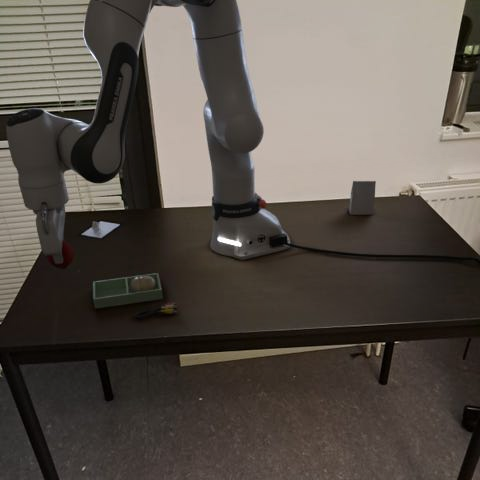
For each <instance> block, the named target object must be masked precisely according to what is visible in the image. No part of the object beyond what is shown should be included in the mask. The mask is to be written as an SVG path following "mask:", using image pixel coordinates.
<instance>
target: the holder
mask: <svg viewBox="0 0 480 480" xmlns="http://www.w3.org/2000/svg"><path fill="white" fill-rule="evenodd" d="M139 276H151V277H152V278H154V280H155V282H156V287H155V289H154V290H149V291H142V292H133V291H132V289H131V281H132V280H133V279H134V278H136V277H139ZM156 300H157V301H159V300H164V295H163V288H162V283H161V279H160V274H159V272H155V273H147V274H139V275H133V276H132V275H131V276H125V277H118V278H109V279H103V280H96V281H92V302H93V305H94V309H101V308H107V307H108V308H110V307H115V306H123V305H130V304H137V303H142V302H143V303H144V302H150V301H156Z"/></svg>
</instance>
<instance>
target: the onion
mask: <svg viewBox="0 0 480 480" xmlns="http://www.w3.org/2000/svg"><path fill="white" fill-rule="evenodd" d="M61 253H62V255H63V263H59V264H56V263H55V262H54V258H53V256H52V255H45V256H46V259H47V261H48V263H49V264H50V265H51V266H53V267H55V268H57V269H60V270H66V269H67V268H68V267H69V266H70V265H71V264H72V263H73V262H74V259H75V251H74V248H73V246H72V245H71V244H70V243H69V242H68V241H66V240H65V239H64V240H63V242H62V252H61Z"/></svg>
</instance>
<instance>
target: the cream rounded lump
mask: <svg viewBox="0 0 480 480" xmlns="http://www.w3.org/2000/svg"><path fill="white" fill-rule="evenodd" d="M138 276H139V275H138ZM155 287H156V282H155V280H154V278H152V277H151V276H139V277H136V278H134V279H133V280H132V281H131V289H132V291H133V292H142V291H149V290H154V289H155Z"/></svg>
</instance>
